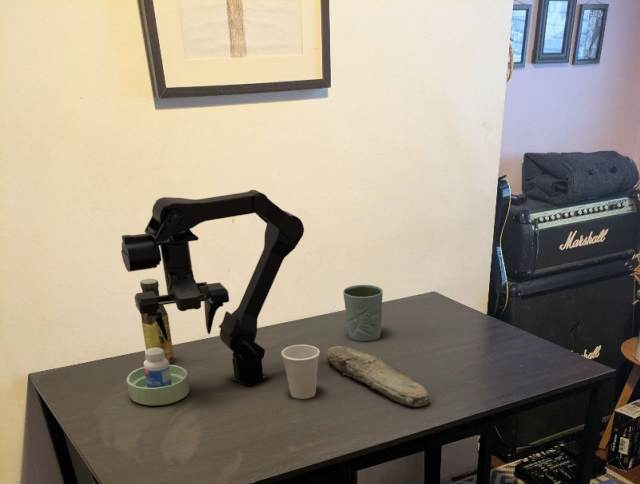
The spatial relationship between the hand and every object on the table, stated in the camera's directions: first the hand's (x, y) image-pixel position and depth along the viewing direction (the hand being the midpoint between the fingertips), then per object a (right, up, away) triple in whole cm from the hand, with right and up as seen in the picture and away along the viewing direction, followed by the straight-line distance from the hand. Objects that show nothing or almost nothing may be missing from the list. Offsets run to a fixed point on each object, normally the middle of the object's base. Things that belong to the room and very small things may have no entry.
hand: (187, 336), depth 167 cm
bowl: (-8, -12, +6) cm, 15 cm away
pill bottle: (-7, -11, +6) cm, 15 cm away
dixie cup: (+24, -11, +7) cm, 28 cm away
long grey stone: (+41, -8, +12) cm, 43 cm away
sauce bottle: (-12, -2, +21) cm, 24 cm away
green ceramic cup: (+37, +8, +36) cm, 53 cm away
